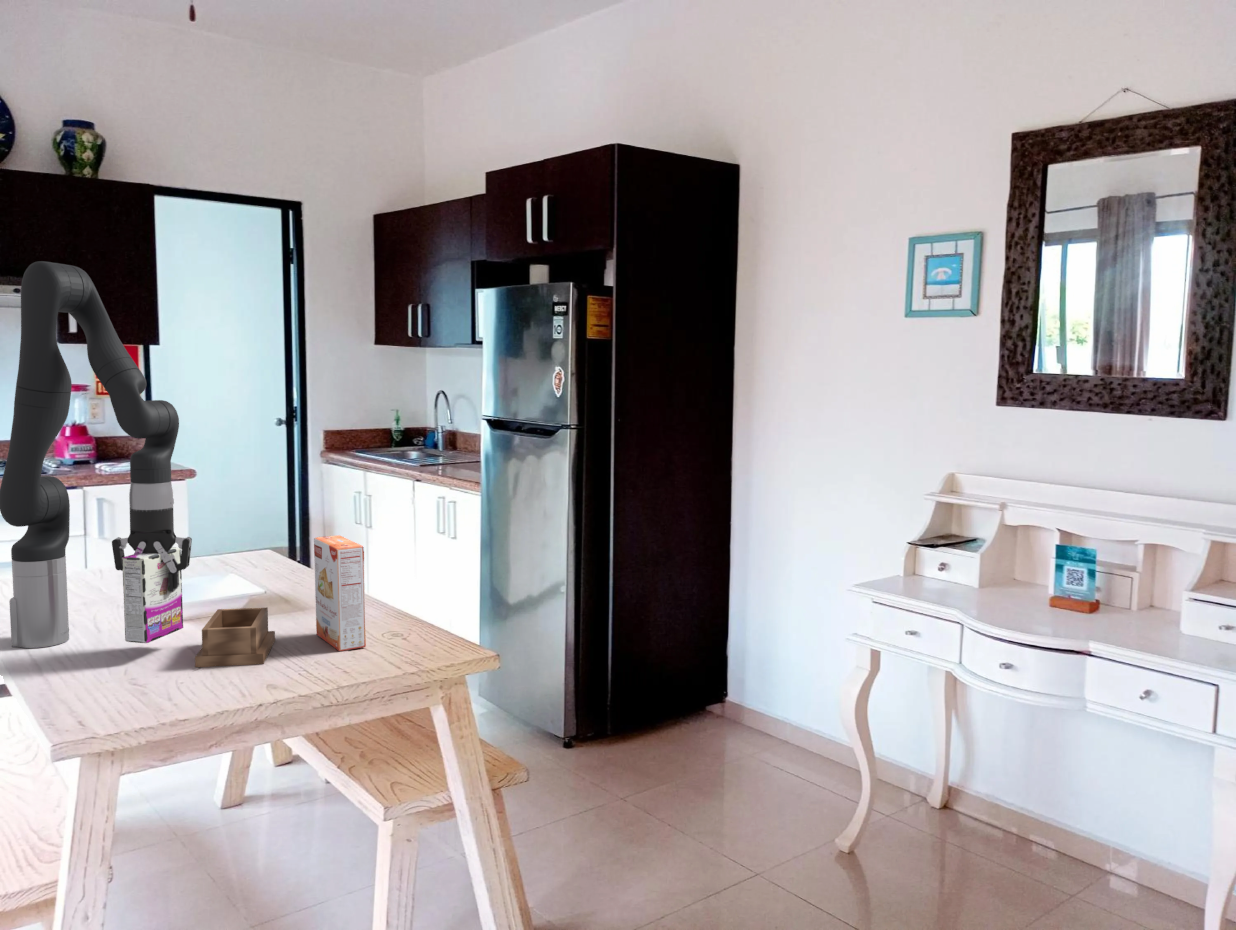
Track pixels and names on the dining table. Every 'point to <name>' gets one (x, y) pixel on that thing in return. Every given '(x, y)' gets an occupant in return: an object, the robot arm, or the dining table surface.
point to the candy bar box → (150, 597)
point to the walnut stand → (236, 638)
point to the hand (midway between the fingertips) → (153, 591)
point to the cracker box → (340, 592)
